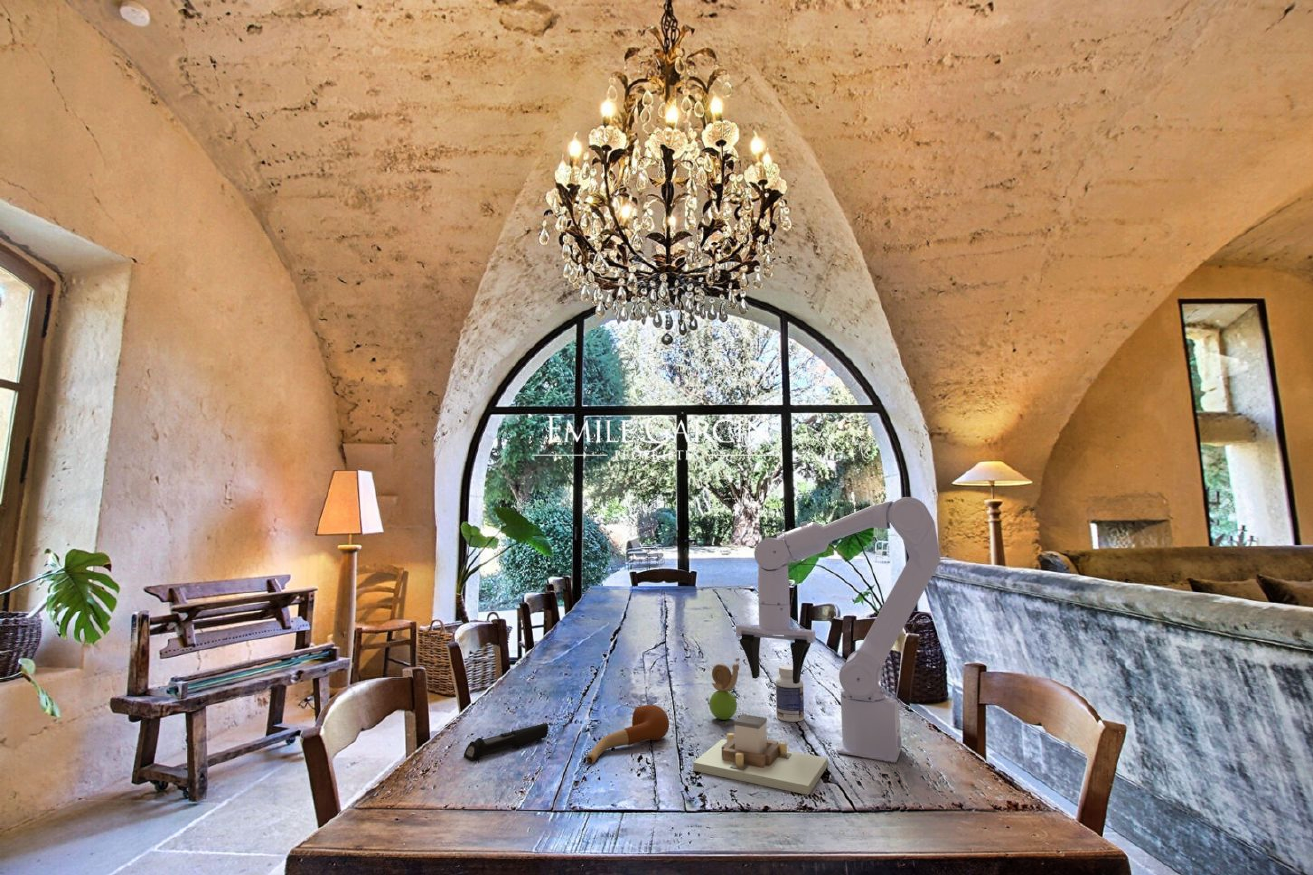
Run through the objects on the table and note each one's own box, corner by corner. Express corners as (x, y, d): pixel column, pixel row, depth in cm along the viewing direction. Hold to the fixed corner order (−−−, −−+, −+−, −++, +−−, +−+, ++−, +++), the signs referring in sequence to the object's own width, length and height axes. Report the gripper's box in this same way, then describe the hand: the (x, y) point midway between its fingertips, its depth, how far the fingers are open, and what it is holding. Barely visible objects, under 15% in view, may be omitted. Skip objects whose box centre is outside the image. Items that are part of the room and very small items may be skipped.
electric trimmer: (552, 743, 107) (553, 724, 108) (472, 764, 97) (473, 743, 97) (541, 738, 110) (541, 719, 110) (462, 758, 99) (463, 738, 100)
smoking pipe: (676, 739, 109) (676, 705, 110) (613, 772, 94) (614, 732, 95) (644, 731, 113) (644, 698, 114) (578, 762, 98) (579, 724, 99)
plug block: (767, 753, 98) (766, 717, 99) (759, 762, 94) (758, 725, 95) (743, 749, 100) (742, 714, 101) (734, 757, 96) (734, 721, 97)
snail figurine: (732, 726, 115) (731, 660, 117) (704, 719, 119) (703, 656, 121) (746, 719, 119) (745, 656, 121) (718, 713, 123) (718, 652, 125)
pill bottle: (807, 723, 117) (805, 670, 119) (779, 722, 117) (777, 670, 119) (801, 714, 123) (799, 664, 124) (774, 714, 123) (773, 664, 124)
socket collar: (782, 752, 99) (782, 742, 99) (767, 769, 92) (766, 758, 92) (736, 743, 102) (736, 734, 102) (718, 759, 95) (718, 749, 96)
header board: (827, 766, 96) (827, 745, 96) (808, 795, 86) (807, 772, 86) (722, 746, 104) (722, 727, 105) (693, 770, 94) (693, 750, 94)
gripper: (729, 603, 112) (730, 679, 110) (807, 608, 106) (810, 690, 104) (742, 599, 119) (744, 671, 117) (817, 604, 112) (819, 681, 110)
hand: (775, 679), depth 110 cm, fingers open, 7 cm apart
